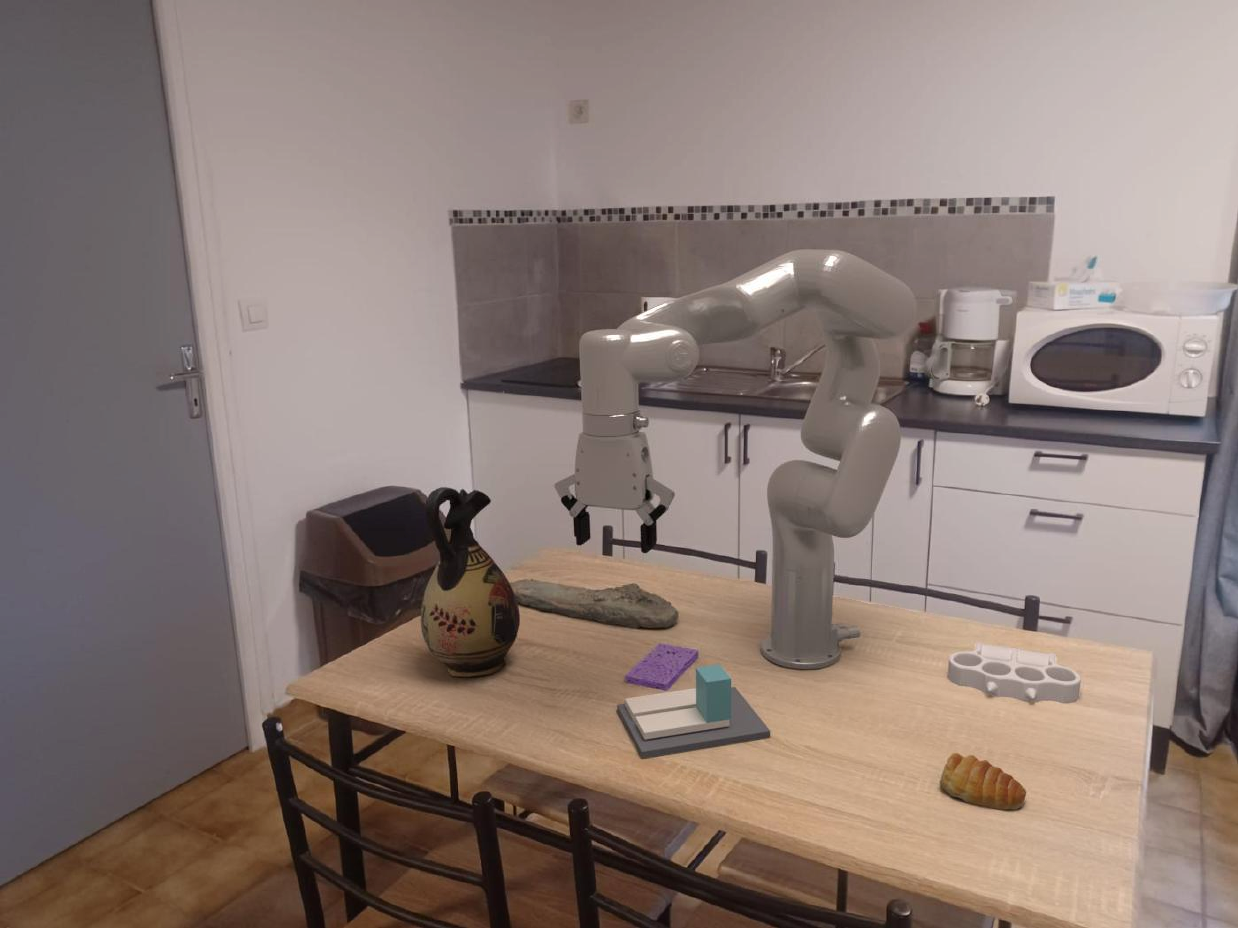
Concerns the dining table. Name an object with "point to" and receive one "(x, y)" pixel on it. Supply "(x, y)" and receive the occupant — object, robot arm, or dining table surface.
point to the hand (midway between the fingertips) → (615, 546)
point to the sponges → (662, 666)
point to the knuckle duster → (1014, 674)
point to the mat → (740, 729)
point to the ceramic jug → (466, 592)
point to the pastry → (981, 783)
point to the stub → (706, 714)
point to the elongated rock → (598, 603)
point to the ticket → (661, 702)
